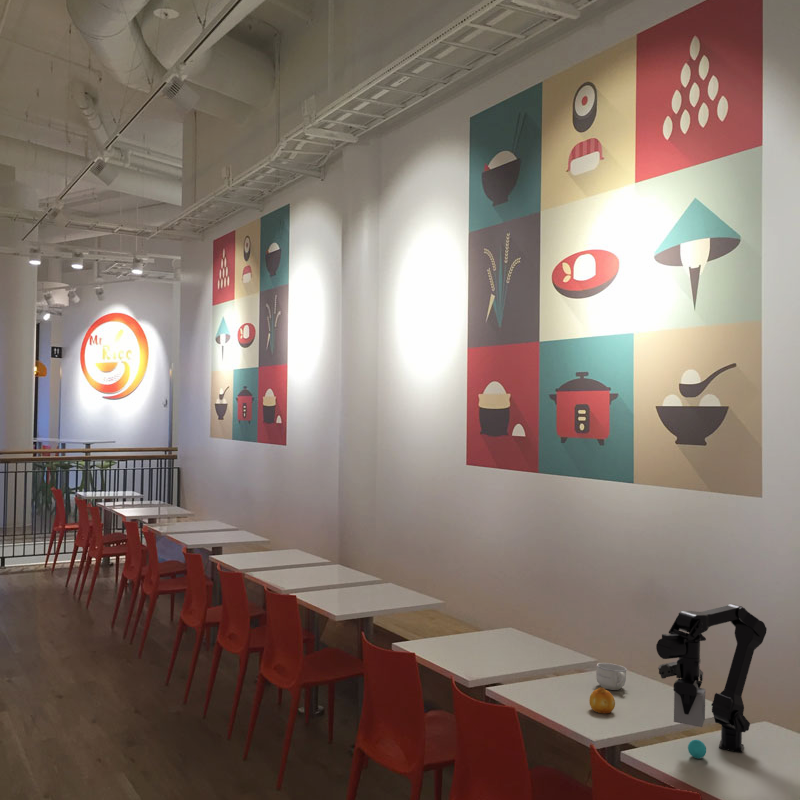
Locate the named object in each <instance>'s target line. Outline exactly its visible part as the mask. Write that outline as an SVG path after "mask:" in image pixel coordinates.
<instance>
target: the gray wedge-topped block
mask: <svg viewBox="0 0 800 800" xmlns="http://www.w3.org/2000/svg"><path fill="white" fill-rule="evenodd" d="M673 693H674V695H673V722H674V723H678V724H683V725H688V726H694V727H698V728H699V727H700V728H702V727H703V726H704V722H705V720H706V688H703V687H700V688H698V693H697V696H696V698H695V700H694V703H693V705H692V707H691V710H690V712H689V714H688V715H687V714H684V710H683V705H682V700H681V697H680V695H679V694H678V693H676V692H675V691H674V690H673Z"/></svg>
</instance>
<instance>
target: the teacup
mask: <svg viewBox="0 0 800 800" xmlns="http://www.w3.org/2000/svg"><path fill="white" fill-rule="evenodd" d="M627 670H628V669H627V667H625V666H623V665H620V664H615V663H610V662H598V663H597V664H596V672H595V673H596V676H595V677H596V683H598V685H599V686H600V688H604V689H605V690H608V691H609V690H610V691H619V690H620V689H621V688H623V687H624V686H625V684H626V680H627Z"/></svg>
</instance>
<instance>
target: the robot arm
mask: <svg viewBox="0 0 800 800" xmlns="http://www.w3.org/2000/svg"><path fill="white" fill-rule="evenodd" d="M729 622H730V623H731V624H732V626H734V627H735V628H734V637H735V641H736V648H735V651H734V653H733V656H732V660H731V664H730V668H729V672H728V674H727V679H726V683H725V684H724V685H725V686H724V689H723V690H722V691H721V692H720V693H718V692H715V693H714V696H713V701H712V703H711V713H712V715H713V718H714V719H713V720H714V722H715V724H718V725H720V726H721V731H720V734H721V735H720V736H721V737H720V741H719V745H718V749H722V750H725V751H731V752H736V753H740V754H741V753H743V750H744V744H743V743H742V741H743V740H742V739H743V737H742V736H743V733H747V731H749V729H750V726H751V723H750V722H749V720H748V719H747V718H746V716H745V715H744V711H745V706H744V705H745V704H744V700H743V696H742V695H743V691H744V689H745V685H746V682H747V677H748V674H749V670H750V667H751V663H752V660H753V655H754V652H755V650H756V649H757V648H758V647H760V645H762V644H763V642H764V639H765V636H766V634H767V627H766V623H764V622H763V621H762V620H760V619H759V618H757V617H756V616H755V615H753V614H752V613H751V612H749V611H748V610H747V609H746V608H745V607H743V605H742V606H741V605H737V604H733V603H730V604H727V605H725V606H720V607H716V608H712V609H707V610H704V611H703V610H702V611H695V610H694V611H693V610H682V611H680V612H679V613H678V614H677V616H676V618H675V620H674V622H673V623H672V625H671V627H670V629H669V631H668V633H667V634H666V633H663V634H661V638H659V639H658V641H657V643H656V645H655V646H656V648H655V649H656V652H657V654H658V656H659V657H660V658H661V659H662V660H669V659H677V660H676V661H672V662H666V663H662V664H660V665H658V667H657V668H658V674H659V675H660V678H661V679H662V680H663V679H664V680H665V679H666V678H671V677H675V676H676V679H677V680H675V681H674V683H673V692H674V691H675V692H676V693H678V694H679V695H680V697H681V700H682V705H683V710H684V714H687V715H688V714H689V712H690V710H691V707H692V705H693V703H694V700H695V698H696V696H697V693H698V688H701V686H702V684H703V681H704V672H703V670H702V669H701V668H700V666H701V662H702V661H701V658H700V657H701V642H703V641H707V639H706V637H705V636H704V635H703V634H704V633H705V632H707V631H708V629H709V628H710V627H714V626H717V625H721V624H724V623H729Z"/></svg>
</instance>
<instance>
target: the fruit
mask: <svg viewBox="0 0 800 800" xmlns="http://www.w3.org/2000/svg"><path fill="white" fill-rule="evenodd" d="M588 701H589V706H590V708H591V710H593V711H594V712H595V713H597V712H598V713H599V714H610V713H611V712H613V711H614V709H615V707H616V700H615V697H614V695H613V694H612V693H611V692H610V691H609V690H608V689H605V688H603V687H598V688H597V689H594V690H592V692H591V694H590V695H589V700H588Z"/></svg>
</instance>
